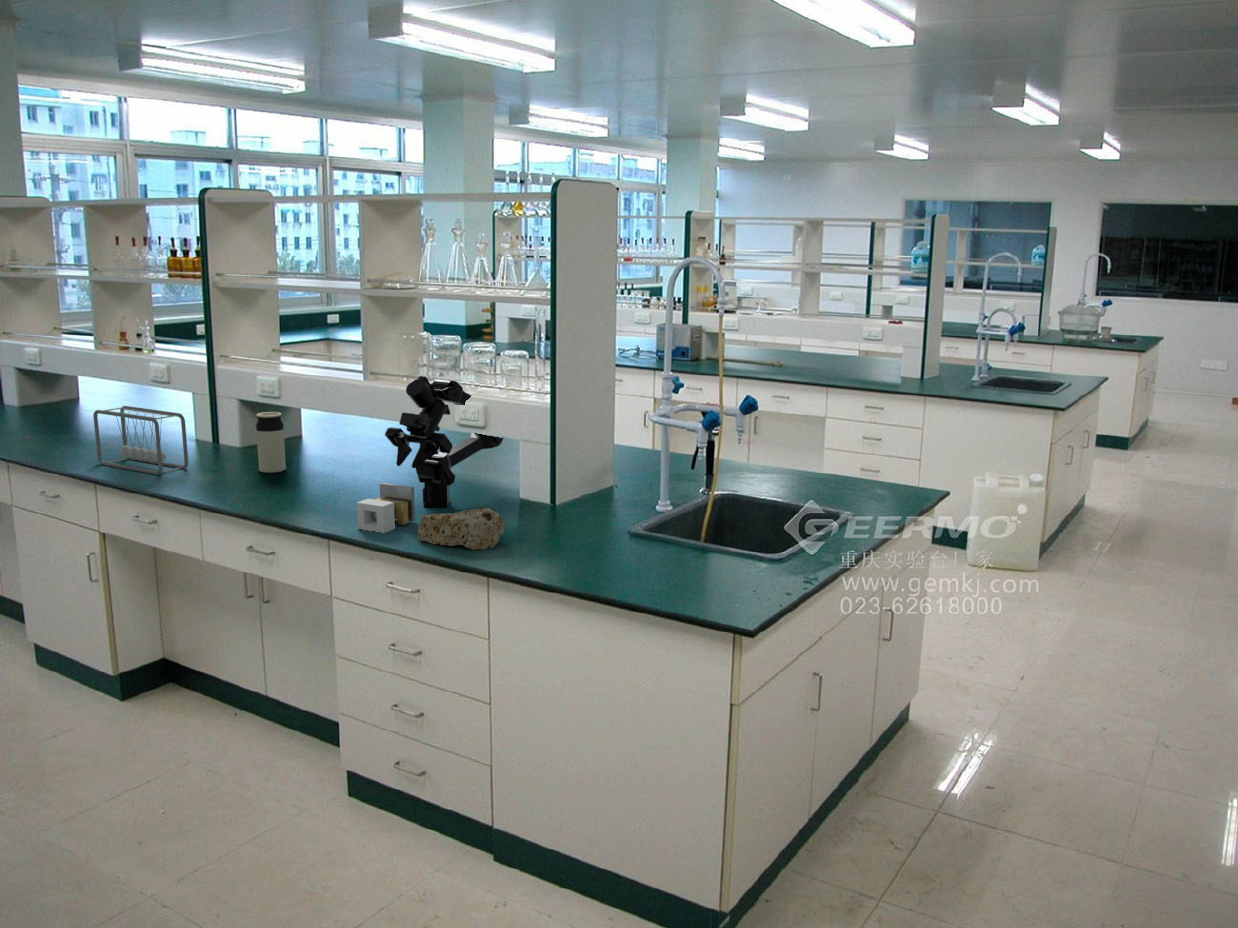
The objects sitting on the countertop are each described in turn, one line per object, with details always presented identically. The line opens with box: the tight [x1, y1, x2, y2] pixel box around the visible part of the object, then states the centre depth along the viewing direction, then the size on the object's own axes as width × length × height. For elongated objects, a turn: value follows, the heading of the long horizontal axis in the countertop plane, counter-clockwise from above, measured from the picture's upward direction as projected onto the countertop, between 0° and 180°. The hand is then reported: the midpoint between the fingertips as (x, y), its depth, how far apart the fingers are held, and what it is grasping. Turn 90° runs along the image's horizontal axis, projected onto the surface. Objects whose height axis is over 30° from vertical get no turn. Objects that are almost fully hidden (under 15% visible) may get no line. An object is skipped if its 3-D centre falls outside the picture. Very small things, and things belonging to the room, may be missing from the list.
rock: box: [417, 507, 507, 551], centre depth 244 cm, size 21×14×10 cm
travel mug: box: [255, 411, 287, 474], centre depth 311 cm, size 8×8×18 cm
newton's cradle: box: [93, 405, 189, 476], centre depth 313 cm, size 30×10×18 cm, turn 62°
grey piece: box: [371, 482, 416, 523], centre depth 256 cm, size 9×10×9 cm
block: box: [356, 498, 396, 534], centre depth 252 cm, size 4×8×7 cm, turn 65°
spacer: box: [375, 497, 409, 526], centre depth 257 cm, size 2×9×6 cm, turn 65°
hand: (405, 466), depth 262 cm, fingers open, 5 cm apart
